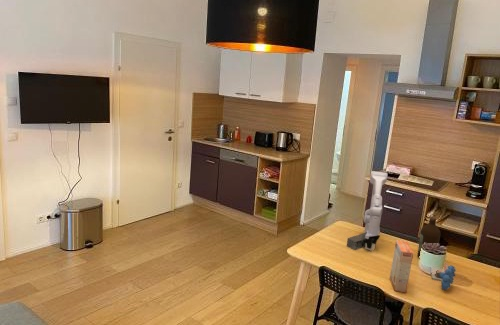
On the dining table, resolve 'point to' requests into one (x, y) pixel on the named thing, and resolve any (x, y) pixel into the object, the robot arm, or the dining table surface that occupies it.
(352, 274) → the dining table surface
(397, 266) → the cracker box
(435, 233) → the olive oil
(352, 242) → the housing
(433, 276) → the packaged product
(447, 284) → the grapes
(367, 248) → the plug
